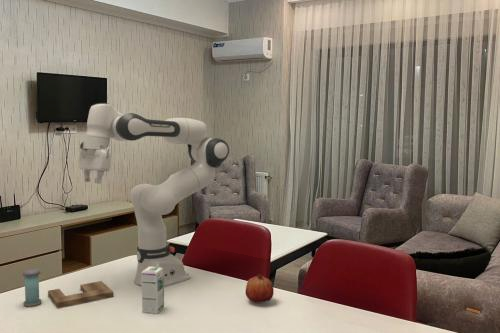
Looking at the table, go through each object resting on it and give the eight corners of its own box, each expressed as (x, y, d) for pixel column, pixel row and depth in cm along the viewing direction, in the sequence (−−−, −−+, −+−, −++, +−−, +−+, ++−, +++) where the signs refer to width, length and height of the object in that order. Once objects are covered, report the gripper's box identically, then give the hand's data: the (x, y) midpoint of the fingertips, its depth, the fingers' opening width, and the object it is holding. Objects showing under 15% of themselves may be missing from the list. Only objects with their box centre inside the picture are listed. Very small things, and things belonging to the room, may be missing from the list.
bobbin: (39, 299, 168) (38, 267, 167) (42, 304, 164) (41, 271, 163) (22, 303, 165) (21, 270, 164) (25, 308, 161) (24, 274, 159)
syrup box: (157, 314, 157) (157, 272, 156) (141, 312, 159) (141, 270, 157) (164, 307, 163) (164, 267, 162) (148, 306, 164) (148, 265, 163)
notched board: (101, 285, 183) (101, 280, 183) (113, 296, 172) (113, 291, 172) (48, 296, 172) (47, 290, 172) (57, 308, 161) (57, 302, 161)
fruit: (279, 302, 170) (280, 275, 169) (261, 310, 162) (261, 281, 161) (257, 294, 177) (258, 268, 176) (239, 301, 169) (239, 274, 169)
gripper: (117, 146, 168) (112, 185, 168) (93, 147, 184) (89, 182, 183) (100, 144, 164) (95, 183, 163) (77, 144, 179) (73, 180, 179)
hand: (92, 182), depth 173 cm, fingers open, 8 cm apart
